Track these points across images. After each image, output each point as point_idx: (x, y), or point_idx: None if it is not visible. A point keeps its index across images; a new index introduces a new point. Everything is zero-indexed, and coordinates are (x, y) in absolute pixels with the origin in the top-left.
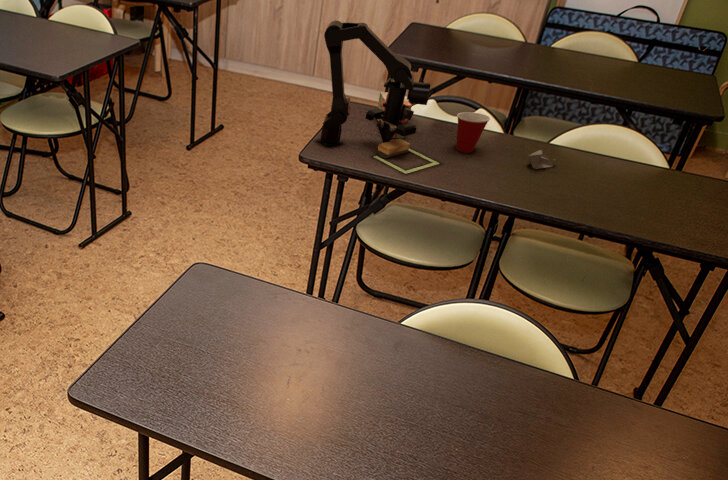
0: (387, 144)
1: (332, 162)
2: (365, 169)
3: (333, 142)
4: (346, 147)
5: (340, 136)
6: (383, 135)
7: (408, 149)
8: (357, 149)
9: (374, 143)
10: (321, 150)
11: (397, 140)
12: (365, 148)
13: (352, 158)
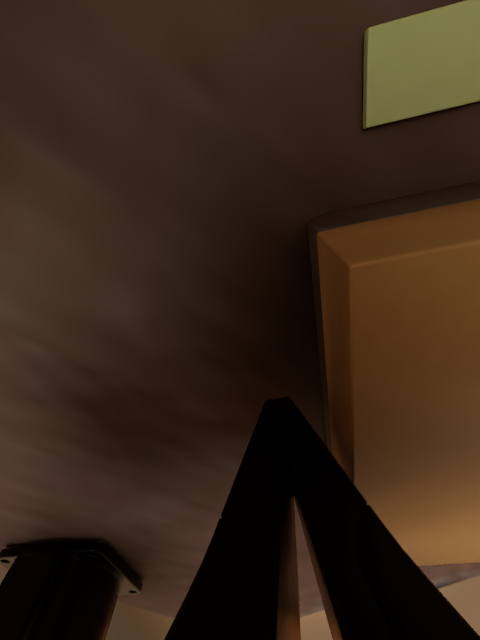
0: (419, 528)
1: (304, 608)
2: (457, 568)
3: (115, 592)
4: (157, 538)
5: (46, 585)
6: (298, 626)
7: (460, 68)
8: (201, 513)
9: (108, 385)
10: (171, 599)
11: (405, 370)
12: (199, 476)
13: (308, 562)
